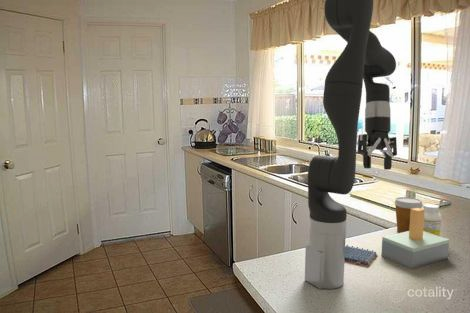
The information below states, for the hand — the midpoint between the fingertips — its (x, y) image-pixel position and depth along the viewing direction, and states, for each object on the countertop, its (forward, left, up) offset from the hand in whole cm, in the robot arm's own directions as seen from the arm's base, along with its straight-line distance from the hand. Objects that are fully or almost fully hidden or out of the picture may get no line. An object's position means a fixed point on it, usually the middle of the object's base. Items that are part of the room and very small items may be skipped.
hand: (377, 169), depth 121 cm
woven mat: (-10, -2, -27) cm, 29 cm away
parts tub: (+6, -10, -26) cm, 29 cm away
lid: (+6, -10, -22) cm, 25 cm away
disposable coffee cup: (+24, +7, -26) cm, 36 cm away
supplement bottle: (+21, -4, -26) cm, 34 cm away
